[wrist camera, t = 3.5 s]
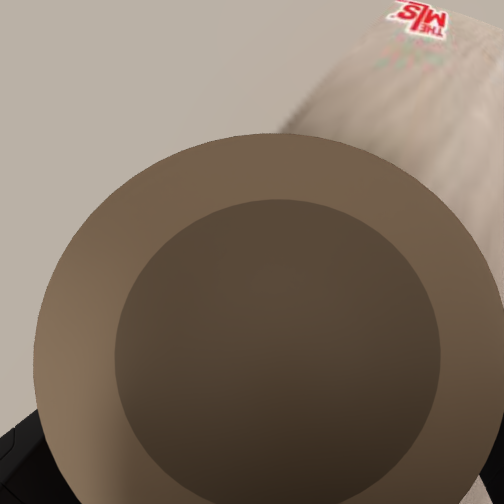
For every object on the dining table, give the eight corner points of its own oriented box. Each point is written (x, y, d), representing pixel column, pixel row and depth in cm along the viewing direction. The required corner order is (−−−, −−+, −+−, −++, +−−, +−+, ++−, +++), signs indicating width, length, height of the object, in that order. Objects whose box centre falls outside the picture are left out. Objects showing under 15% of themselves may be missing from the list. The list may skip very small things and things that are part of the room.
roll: (338, 348, 16) (509, 207, 4) (302, 458, 13) (423, 602, 1) (228, 314, 17) (161, 105, 5) (186, 420, 14) (-13, 452, 2)
